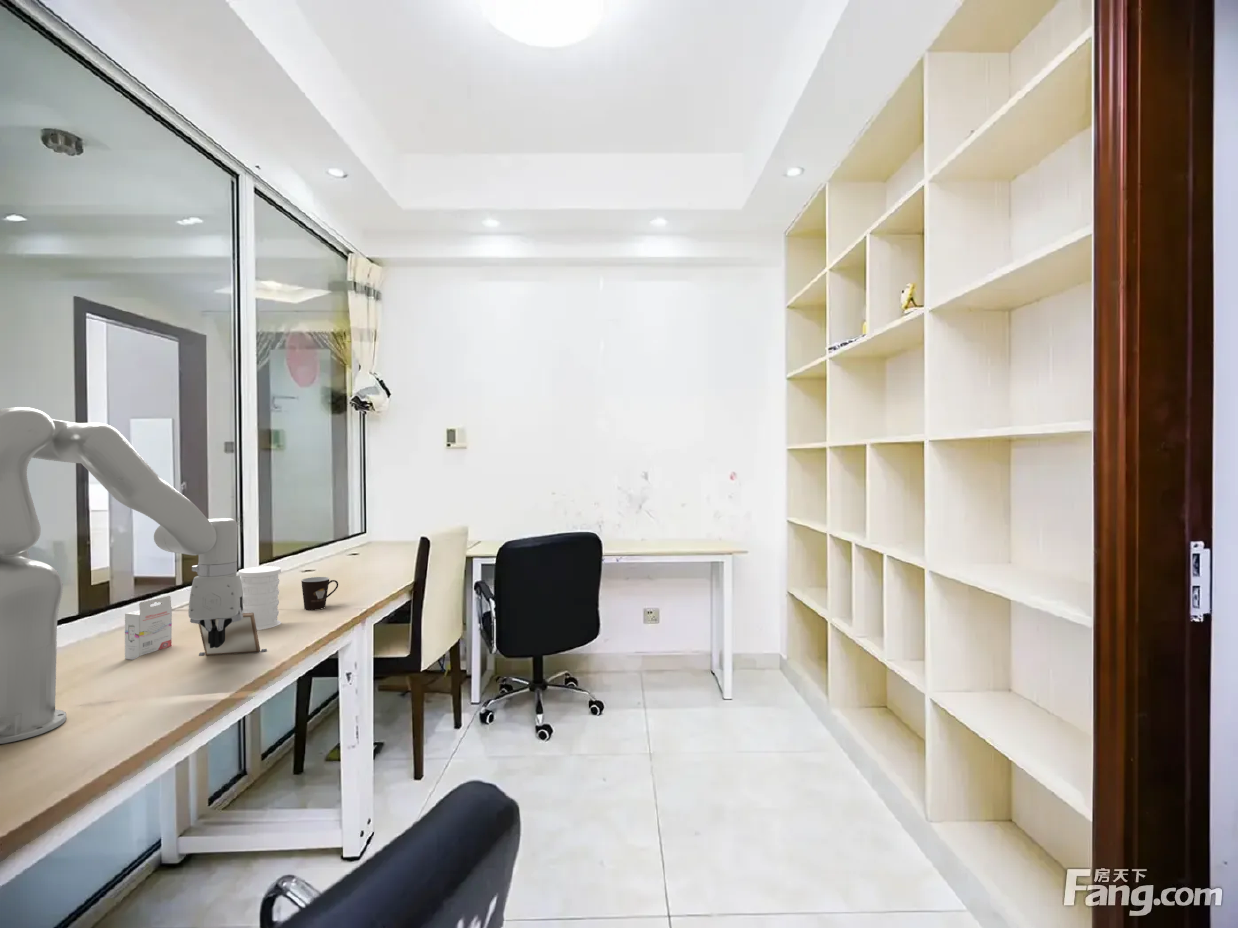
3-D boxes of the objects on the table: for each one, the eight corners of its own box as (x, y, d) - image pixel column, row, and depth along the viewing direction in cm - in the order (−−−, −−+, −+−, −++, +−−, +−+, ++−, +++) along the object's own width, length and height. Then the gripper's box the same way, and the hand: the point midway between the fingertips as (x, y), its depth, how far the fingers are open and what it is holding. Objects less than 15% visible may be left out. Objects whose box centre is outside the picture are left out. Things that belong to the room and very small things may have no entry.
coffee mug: (300, 612, 190) (301, 582, 190) (300, 606, 198) (301, 578, 198) (338, 608, 196) (339, 579, 196) (337, 603, 203) (338, 575, 203)
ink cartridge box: (156, 648, 151) (158, 593, 151) (172, 650, 150) (173, 595, 150) (123, 659, 143) (124, 601, 143) (138, 660, 142) (140, 602, 142)
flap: (252, 615, 141) (253, 612, 142) (196, 617, 138) (198, 614, 139) (259, 654, 146) (260, 651, 147) (205, 657, 143) (207, 654, 144)
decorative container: (257, 636, 164) (258, 574, 164) (226, 632, 167) (227, 571, 167) (290, 625, 175) (291, 567, 175) (260, 622, 178) (261, 565, 178)
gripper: (173, 573, 130) (172, 653, 130) (246, 571, 134) (245, 649, 134) (189, 567, 137) (188, 643, 137) (258, 566, 141) (257, 639, 141)
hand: (216, 645), depth 135 cm, fingers closed
